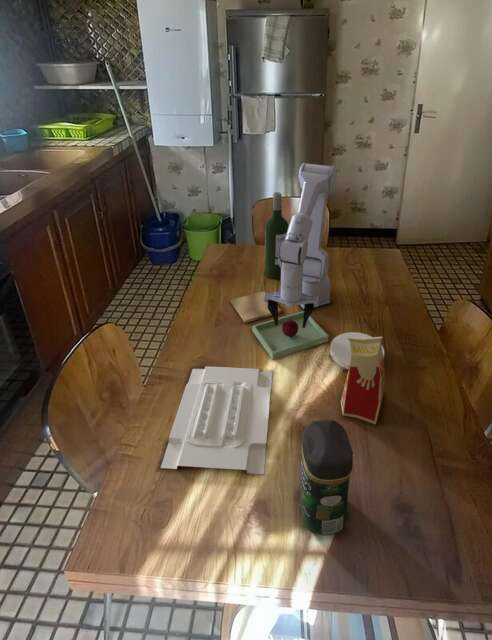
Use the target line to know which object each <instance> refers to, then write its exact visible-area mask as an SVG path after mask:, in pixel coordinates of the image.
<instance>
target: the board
mask: <svg viewBox="0 0 492 640" xmlns="http://www.w3.org/2000/svg"><path fill="white" fill-rule="evenodd" d="M265 293H267V292H266V291H265V290H264V291H259V292H255V293H252V294H248V295H244V296H239V297H235V298H232V299H230V304H231V305H232V307H233V308H234V309H235V311H236V312H237V314H238V315H239V316H240V318H241V319H242V321H243V322H244V323H245V324H248V323H251V322H254V321H257V320H261V319H265V318H269V317H273V316H272V314H271V313H270V311H269V310H268V307H267V306H268V302H264V294H265ZM282 311H283V310H282V309H281V308H280V306H278V315H279V314H282Z"/></svg>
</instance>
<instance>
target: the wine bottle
mask: <svg viewBox="0 0 492 640" xmlns="http://www.w3.org/2000/svg"><path fill="white" fill-rule="evenodd" d="M282 197H283V195H282V193H281V192H279V191H275V192H274V193H273V194H272V198H273V199H272V215H271V216H270V217H269V218H268V219H267V221H266V222H265V224H264V273H265V276H266V277H267V278H269V279H273V280H281V268H280V266H279V260H278V249H279V245H280V243H281V241H284V240H285V237H286V234H287V231H288V228H289V222H288V221H287V220H286V218H285V217H283V215H282Z"/></svg>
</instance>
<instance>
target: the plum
mask: <svg viewBox="0 0 492 640" xmlns="http://www.w3.org/2000/svg"><path fill="white" fill-rule="evenodd" d="M282 331H283V333H284V334H285V335H286V336H288V337H292V336H294V335H296V334H297V332H298V325H297V323H296V322H295V321H293V320H287V321H285V322H284V323H283V325H282Z"/></svg>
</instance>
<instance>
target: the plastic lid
mask: <svg viewBox="0 0 492 640" xmlns="http://www.w3.org/2000/svg"><path fill="white" fill-rule="evenodd" d="M347 338H373V336H371V335H369V334H367V333H362V332H357V331H356V332H355V331H349V332H343V333H340V334H339V335H336V336H335V337H334V338H333V339H332V340H331V342H330V348H329V353H330V357H331V359H332V360H333V362H335V364H337V365H338V366H339V367H341V368H343V369H345V370H347V371H348V370H349V366H350V362H351V348H350V340H348V339H347ZM382 352H383V358H384V359H385V348H384V346H382Z"/></svg>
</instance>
